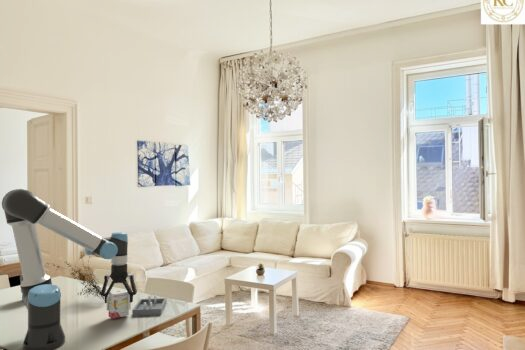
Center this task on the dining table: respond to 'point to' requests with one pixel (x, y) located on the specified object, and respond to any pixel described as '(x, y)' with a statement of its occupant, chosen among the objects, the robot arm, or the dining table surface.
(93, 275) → the dried plant
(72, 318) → the dining table surface
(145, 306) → the pin tray
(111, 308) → the ink box
